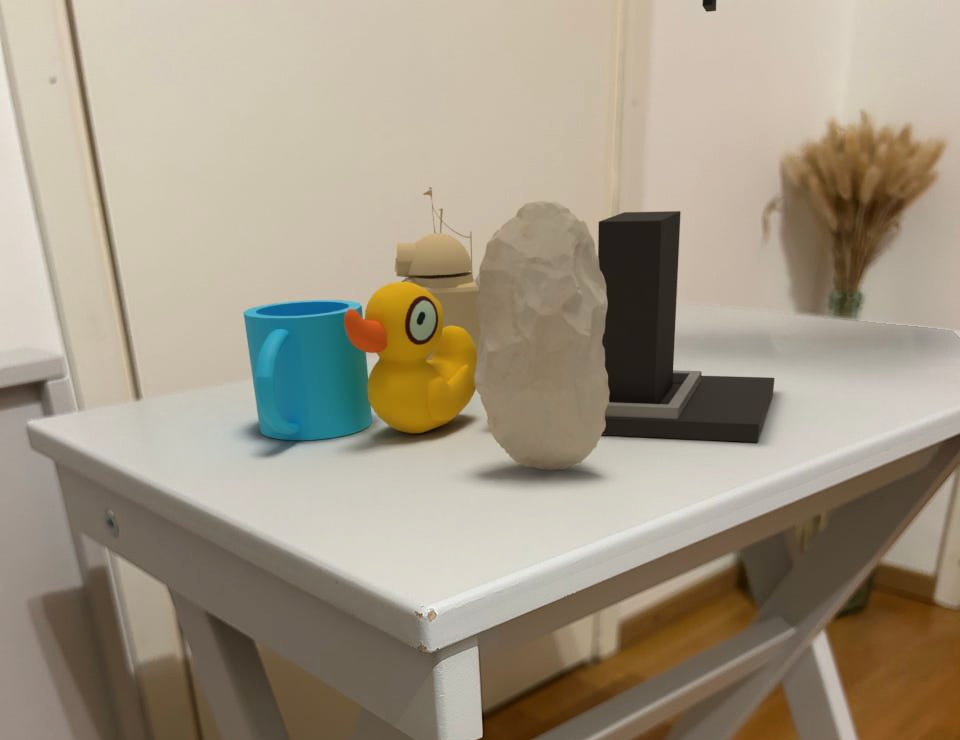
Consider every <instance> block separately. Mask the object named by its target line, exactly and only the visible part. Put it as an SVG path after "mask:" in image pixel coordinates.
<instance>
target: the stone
mask: <svg viewBox="0 0 960 740" xmlns="http://www.w3.org/2000/svg"><path fill="white" fill-rule="evenodd" d="M577 217H578V216H576V215H575V214H574V213H573V212H572V211H571V210H570V209H569V208H568V207H566V206H564V205H562V204H560V203H558V202H557V201H543V200H542V201H541V200H539V201H538V200H537V201H533V202H526V203H524V204H523V205H522V207H520V208H519V209H518V210H517V212H516V214H515V216H513V217H511V218H510V219H508V220H507V221H506V222H505V223H504V224H503V225H501V227H500V229H497V230H496V231H495V232H494V233H493V234H492V236H491V238H490V239H489V240H488V242H487V243H486V247H485V252H484V256H483V258H482V260H481V262H480V265H479V269H478V274H479V273H480V294H479V297H478V300H477V303H476V308H477V311H478V324H479V326H480V329H481V334H480V337H479V349H478V358H477V364H476V370H475V375H474V382H475V388H476V389H475V391H476V392H477V393H478V394H479V396H480V401H481V403H482V405H483V408H484V410H485V412H486V417H487V421H486V424H487V425H488V427H489V431H490V433H491V435H492V437H493V439H494V440H495V442H496V443H498V444H499V446H500V447H501V448H502V449H503V450H504V452H505V453H506V454H508V455H509V457H510V458H512V460H513V461H515V463H516V464H518V465H521V466H525V467H534V468H535V469H542V470H547V471H554V470H565V469H568V468H570V467H572V466H573V465H576V464H579V465H580V464H582V462H583V461H584V460H585V459H586V458H587V457H589V456H590V454H592V452H593V451H594V449H595V448H597V445H598V443H599V441H601V437H602V436H603V435H602V432H603V431H604V430H605V427H606V422H605V410H606V408H607V405H608V403H609V394H610V392H609V387H608V374H607V371H606V369H605V349H604V347H603V344H602V339H603V334H604V332H605V319H606V312H607V306H608V301H607V296H606V283H605V279H604V276H603V274H602V272H601V271H600V268H599V258H598V253H597V251H596V244H595V240H594V238H593V237H592V234H591V232H590V231H589V227H588V225H587V222H585V220H580V219H579V218H577Z"/></svg>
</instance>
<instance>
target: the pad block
mask: <svg viewBox="0 0 960 740" xmlns="http://www.w3.org/2000/svg"><path fill="white" fill-rule="evenodd" d="M681 214H682V213H681V210H674V211H673V210H672V211H671V210H670V211H667V210H666V211H624V212H621V213H618V214H615V215H612V216H610V217H608V218H605V219H602V220H600V221H598V231H597V232H598V233H597V234H598V239H597V241H598V242H597V244H598V247H597V256H598V258H599V268H600V271H601V272H602V274H603V276H604V279H605V283H606V296H607V301H608V306H607V312H606V319H605V332H604V334H603V339H602V344H603V347H604V349H605V369H606V371H607V374H608V387H609V392H610V394H609V402H613V403H640V404H660V402H661V401H662V399H663V398H664V397H665V395H666V394H667V392H668V391H669V390H670V388H671V387H672V385H673V370H674V363H675V362H674V360H675V342H676V341H675V339H676V322H677V321H676V318H677V317H676V315H677V300H678V299H677V298H678V297H677V296H678V277H679V276H678V274H679V254H680V236H681V235H680V232H681V231H680V230H681Z"/></svg>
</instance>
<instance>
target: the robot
mask: <svg viewBox="0 0 960 740" xmlns="http://www.w3.org/2000/svg"><path fill="white" fill-rule="evenodd" d="M428 188H429V190H427V191H425V192H424V193H422V195H424V196H430V198H431V200H433V190H432V189H433V187H432V186H431V187H428ZM431 209H432V211H431V213H432V214H434V213H435V215H436V217H437V218H438V219H439V221H440V222H439V232H436V226H435V225H433V233H429V234H427V235H424V236H422V237H421V238H419V239H418V240H416V242H415V243H413V242H412V243H411V242H396V257H395V264H394V272H395V273H396V275H395V276H396V277H400V278H404V279H403V280H401V282H411V283H414V284H416V285H419V286H421V287H422V288H424V289H425V290H427V291H428V292H429V293H430V294H432V295H433V296H434V298H435V299H437V300H438V301H439V302H440V304H441V306H442V309H443V328H445V327H447V326H458V327H461V328H463V329H465V330H466V331H467V332H468V334H469V335H470V337H471V338H472V340H473V342H474V344H475V347H476V354H477V358H478V349H479V337H480V334H481V329H480V326H479V324H478V311H477V308H476V303H477V300H478V297H479V289H478V287H477V284H476V282H475V278H474V274H473V246H472V245H473V244H472V241H473V239H472V231H469V236H468V235H464V234H461V233H459V232H457V231H455V230H454V229H453V228H451V227H450V226H449V225H447V224H446V222H444V221H443V211H444V208H440V209H438V211H440V212H439V213H440V216H439V215H438V213H437V212H436V210H435V208H434V204H433V203H431ZM432 221H433V224H435V219H434V216H432ZM443 224H444V225H445V226H446V227H447V228H448V229H449V230H451V231H452V232H453V233H455V234H456V235H459V236H461V237H464V238H467V239H470V254H469V252H468V250H467V249H466V247H465V246H464V245H463V244H462V242H461V241H460V240H458V239H457V238H455V237H454V236H452V235H450V234H447V233H443V232H442V227H443V226H442V225H443ZM433 352H434V350H433ZM433 352H432V353H431V354H430V355H429V356H428V357H427V359H426V361H427V360H431V359H432V356H433Z"/></svg>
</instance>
